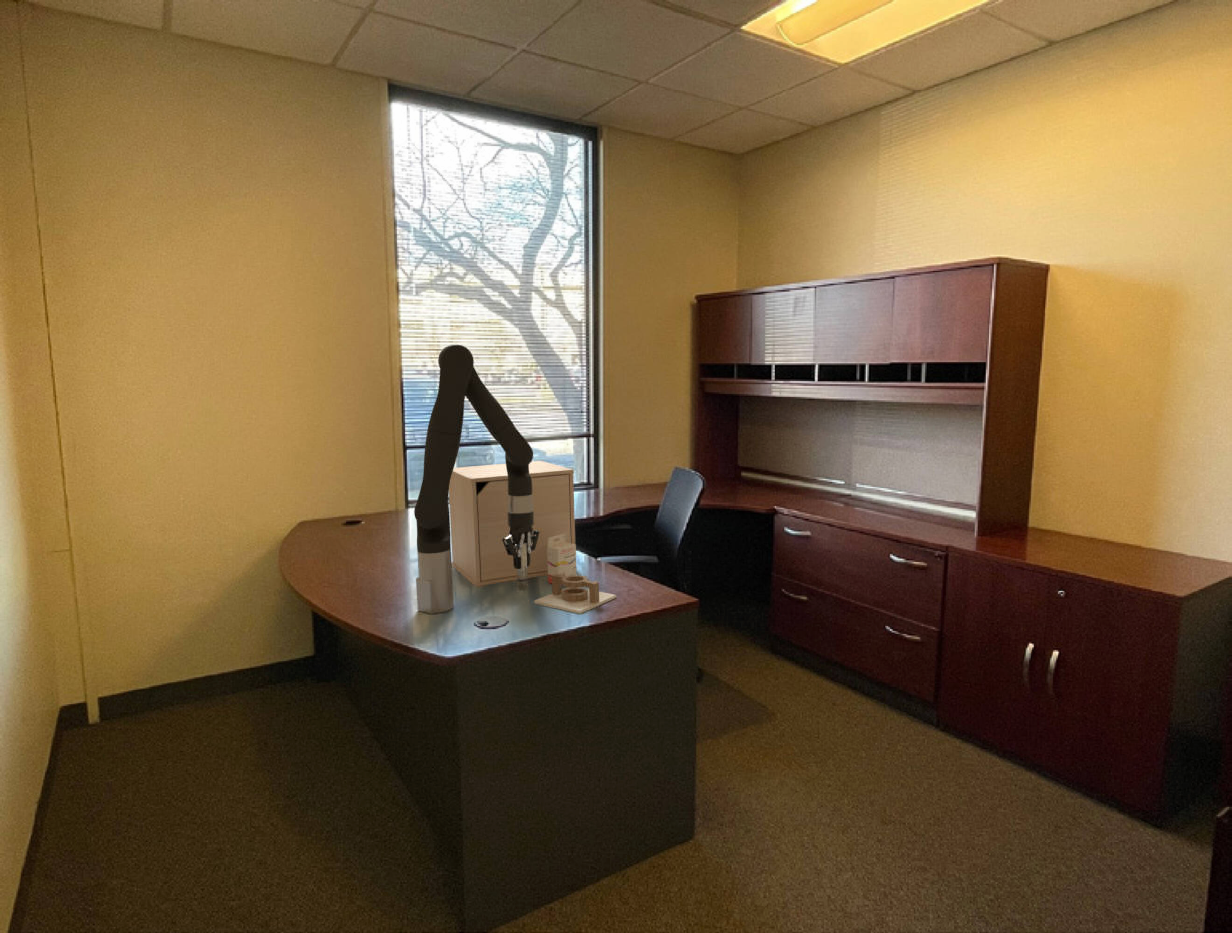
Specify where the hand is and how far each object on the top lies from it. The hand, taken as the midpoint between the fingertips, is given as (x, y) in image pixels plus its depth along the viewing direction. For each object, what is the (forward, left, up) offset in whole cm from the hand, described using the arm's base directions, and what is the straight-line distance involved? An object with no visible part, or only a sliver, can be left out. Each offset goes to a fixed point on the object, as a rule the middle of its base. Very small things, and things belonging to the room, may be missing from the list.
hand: (521, 567), depth 212 cm
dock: (+7, -14, -10) cm, 19 cm away
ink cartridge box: (+20, +2, -10) cm, 22 cm away
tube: (0, 0, -7) cm, 7 cm away
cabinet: (+23, +27, -10) cm, 37 cm away
